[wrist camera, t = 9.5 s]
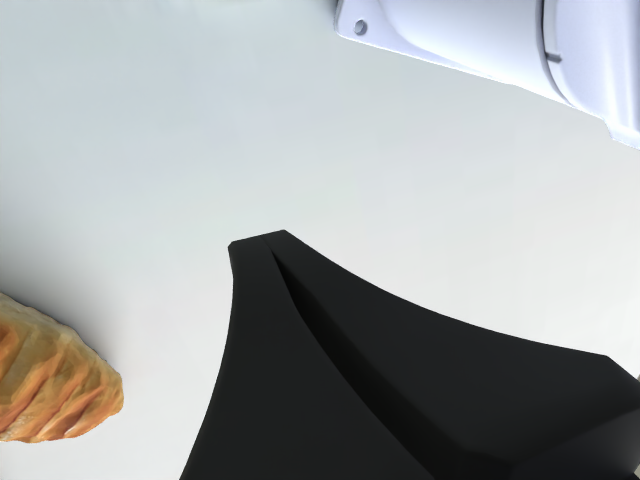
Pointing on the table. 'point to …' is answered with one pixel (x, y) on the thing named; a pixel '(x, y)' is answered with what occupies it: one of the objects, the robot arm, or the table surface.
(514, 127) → the table surface
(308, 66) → the table surface
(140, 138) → the table surface
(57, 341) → the pastry
